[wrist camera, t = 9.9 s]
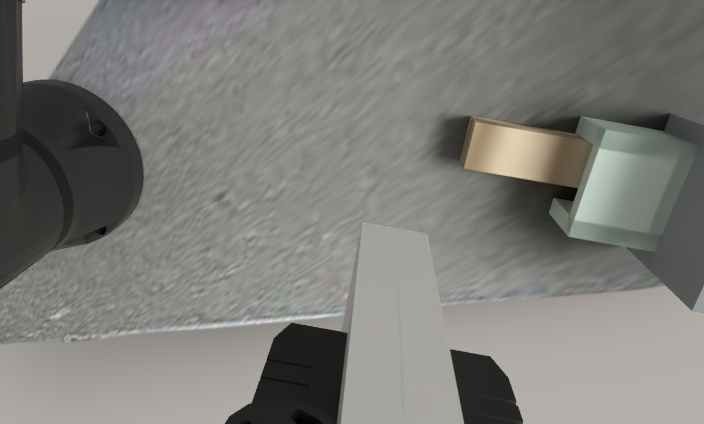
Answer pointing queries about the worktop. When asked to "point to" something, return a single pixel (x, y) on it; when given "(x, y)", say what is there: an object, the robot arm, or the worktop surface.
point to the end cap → (644, 198)
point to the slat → (525, 152)
